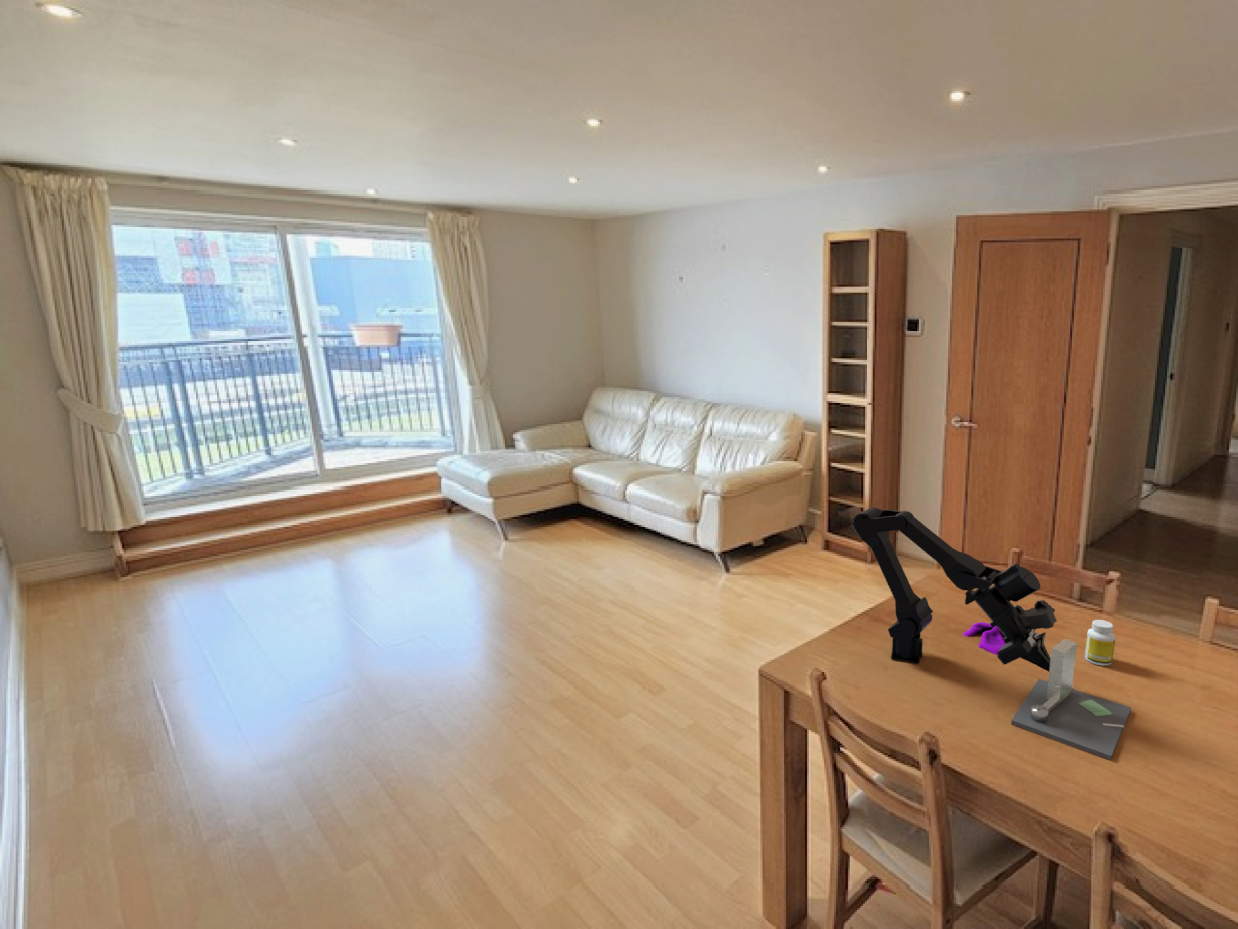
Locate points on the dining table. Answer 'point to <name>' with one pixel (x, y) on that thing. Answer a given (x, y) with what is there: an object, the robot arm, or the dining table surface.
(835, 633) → the dining table surface
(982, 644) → the cloth
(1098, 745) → the plate
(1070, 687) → the frosted block on spoon
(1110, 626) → the supplement bottle
